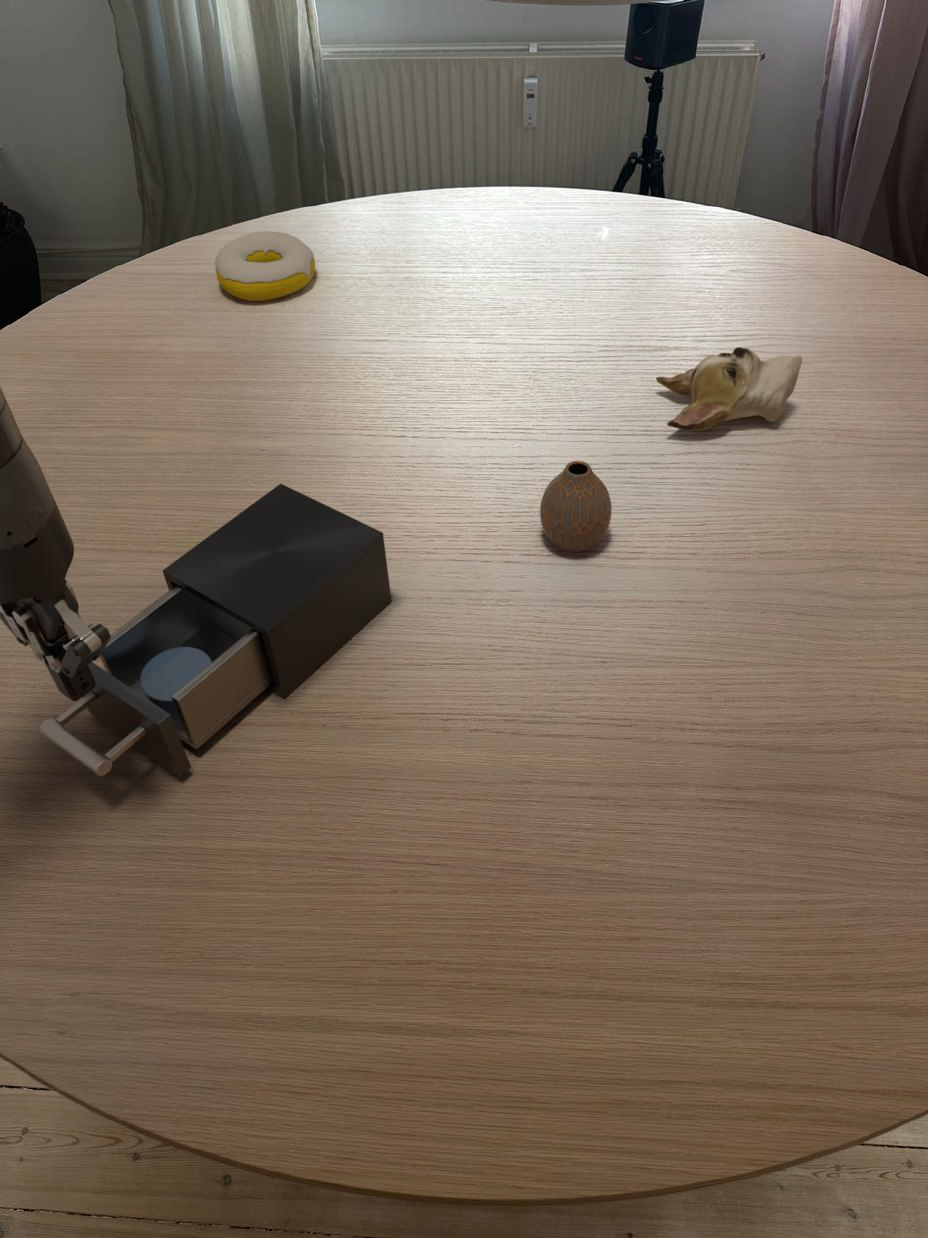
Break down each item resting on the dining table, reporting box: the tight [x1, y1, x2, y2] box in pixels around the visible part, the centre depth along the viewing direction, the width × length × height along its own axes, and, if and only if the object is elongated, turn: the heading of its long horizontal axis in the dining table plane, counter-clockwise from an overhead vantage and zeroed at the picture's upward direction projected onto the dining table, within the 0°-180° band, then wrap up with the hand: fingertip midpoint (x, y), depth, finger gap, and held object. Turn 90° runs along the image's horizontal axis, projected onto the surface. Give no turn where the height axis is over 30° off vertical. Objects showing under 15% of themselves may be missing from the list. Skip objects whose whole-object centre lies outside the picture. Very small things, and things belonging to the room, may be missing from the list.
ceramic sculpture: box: [655, 346, 803, 432], centre depth 109 cm, size 11×9×15 cm
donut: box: [214, 230, 316, 302], centre depth 137 cm, size 14×14×5 cm
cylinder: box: [140, 647, 212, 719], centre depth 82 cm, size 6×6×2 cm
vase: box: [539, 460, 613, 553], centre depth 95 cm, size 7×7×9 cm
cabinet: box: [162, 483, 392, 700], centre depth 89 cm, size 15×13×9 cm
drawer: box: [39, 585, 274, 778], centre depth 81 cm, size 18×11×7 cm, turn 143°
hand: (79, 690), depth 73 cm, fingers closed
